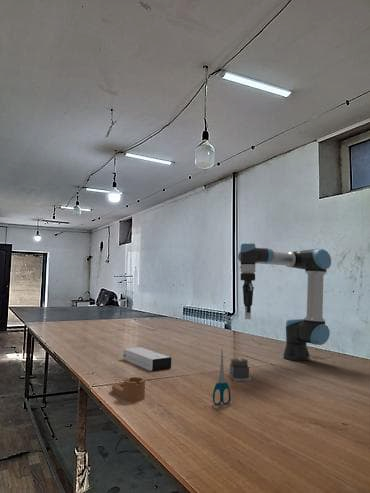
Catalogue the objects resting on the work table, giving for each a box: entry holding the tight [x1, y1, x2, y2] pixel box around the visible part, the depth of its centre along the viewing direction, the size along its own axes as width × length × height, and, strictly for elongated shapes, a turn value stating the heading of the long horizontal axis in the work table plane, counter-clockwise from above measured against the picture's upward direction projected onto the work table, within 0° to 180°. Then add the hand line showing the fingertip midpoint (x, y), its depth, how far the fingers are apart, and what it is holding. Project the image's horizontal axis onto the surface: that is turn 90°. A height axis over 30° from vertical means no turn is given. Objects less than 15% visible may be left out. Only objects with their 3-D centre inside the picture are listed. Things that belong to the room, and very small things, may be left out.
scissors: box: [212, 349, 232, 406], centre depth 137 cm, size 7×1×20 cm, turn 105°
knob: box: [229, 356, 250, 377], centre depth 175 cm, size 8×8×8 cm
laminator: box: [122, 346, 172, 372], centre depth 200 cm, size 34×12×6 cm, turn 35°
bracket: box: [111, 376, 146, 403], centre depth 147 cm, size 18×8×7 cm, turn 37°
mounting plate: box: [227, 371, 252, 382], centre depth 175 cm, size 8×12×5 cm, turn 6°
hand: (247, 319), depth 187 cm, fingers closed
